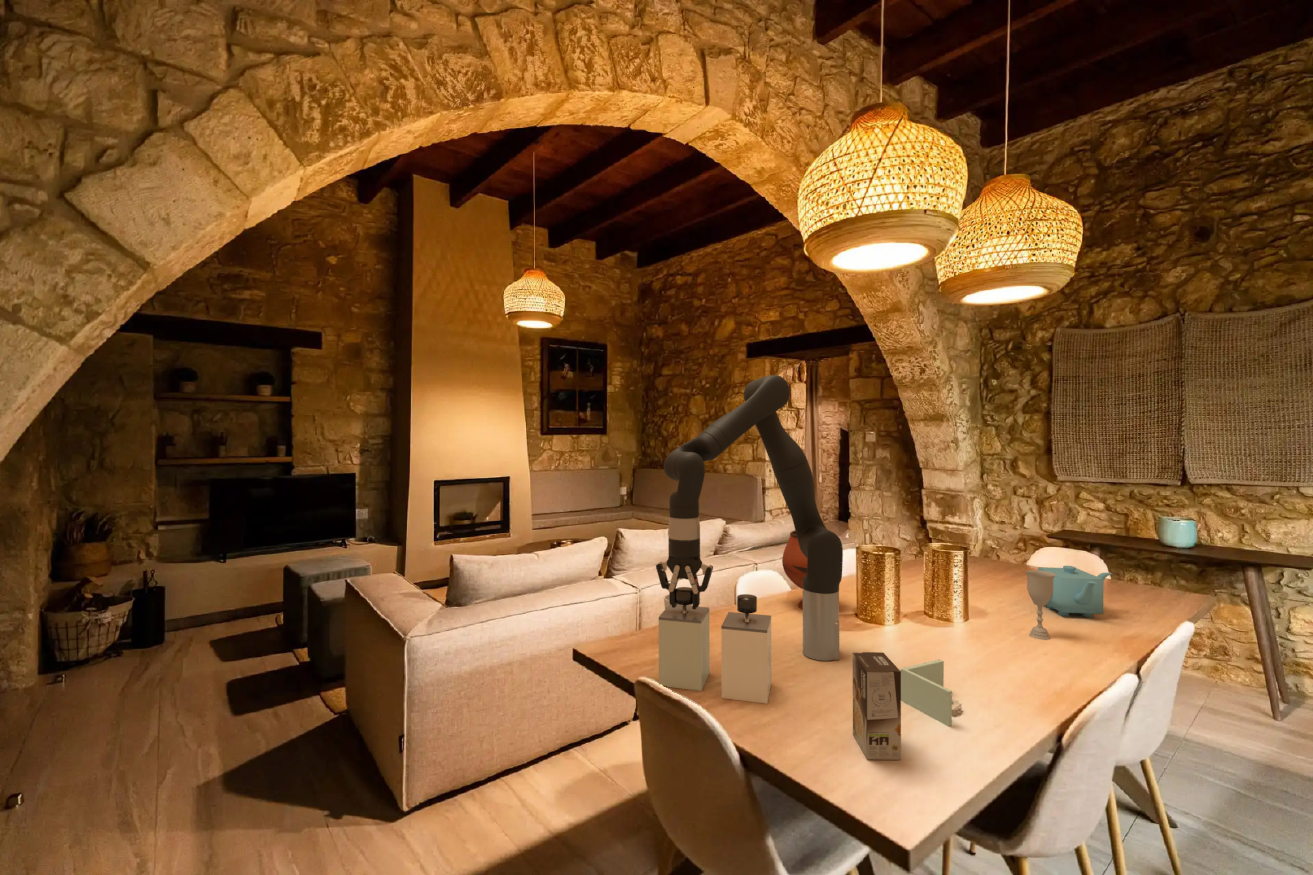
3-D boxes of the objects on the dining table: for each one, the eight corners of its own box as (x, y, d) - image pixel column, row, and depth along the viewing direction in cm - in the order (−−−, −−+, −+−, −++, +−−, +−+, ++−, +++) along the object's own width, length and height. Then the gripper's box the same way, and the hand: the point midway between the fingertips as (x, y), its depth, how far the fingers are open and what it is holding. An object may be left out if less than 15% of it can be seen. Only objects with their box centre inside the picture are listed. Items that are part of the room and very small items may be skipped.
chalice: (1027, 638, 160) (1027, 574, 160) (1022, 630, 166) (1022, 569, 166) (1058, 642, 157) (1058, 577, 157) (1051, 633, 163) (1052, 571, 163)
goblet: (845, 602, 193) (845, 529, 193) (838, 620, 176) (838, 540, 175) (788, 596, 201) (788, 525, 200) (776, 612, 183) (776, 535, 183)
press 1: (709, 672, 139) (709, 607, 138) (701, 690, 129) (700, 620, 129) (669, 667, 141) (669, 604, 141) (658, 685, 132) (658, 617, 132)
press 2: (771, 683, 133) (771, 615, 132) (767, 703, 123) (767, 630, 123) (728, 678, 135) (728, 611, 135) (721, 697, 126) (721, 625, 125)
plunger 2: (766, 676, 132) (766, 593, 131) (763, 691, 124) (763, 603, 124) (732, 672, 134) (732, 590, 134) (726, 687, 126) (726, 600, 126)
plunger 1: (704, 665, 138) (704, 586, 138) (697, 679, 130) (697, 595, 130) (672, 661, 140) (672, 583, 140) (664, 675, 132) (663, 592, 132)
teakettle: (1047, 599, 196) (1047, 557, 195) (1115, 613, 181) (1115, 567, 180) (1025, 611, 184) (1025, 565, 184) (1096, 626, 169) (1096, 577, 169)
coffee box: (902, 760, 102) (903, 671, 102) (866, 760, 102) (866, 671, 102) (883, 733, 111) (884, 651, 111) (850, 732, 111) (850, 651, 111)
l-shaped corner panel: (948, 729, 113) (948, 691, 113) (900, 702, 124) (900, 668, 124) (989, 716, 118) (989, 680, 118) (939, 692, 129) (939, 659, 129)
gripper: (716, 534, 136) (717, 605, 137) (659, 531, 140) (659, 600, 141) (710, 540, 129) (711, 615, 129) (650, 537, 133) (651, 609, 133)
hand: (684, 607), depth 135 cm, fingers closed on plunger 1, 4 cm apart
